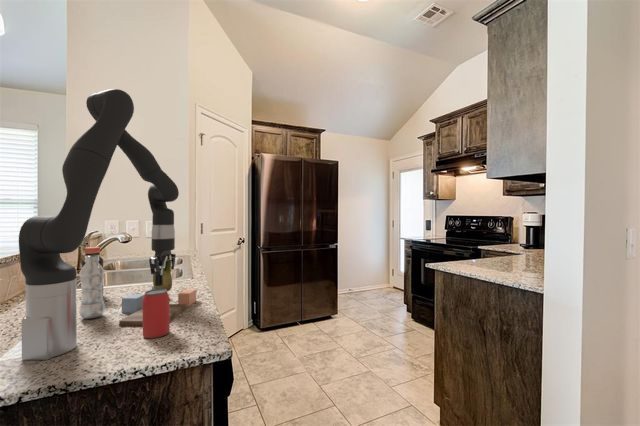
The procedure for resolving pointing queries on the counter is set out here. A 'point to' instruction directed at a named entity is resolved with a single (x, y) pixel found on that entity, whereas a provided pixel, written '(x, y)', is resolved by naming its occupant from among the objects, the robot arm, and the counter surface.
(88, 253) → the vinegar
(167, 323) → the beer can
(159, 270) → the robot arm
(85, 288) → the plastic bottle
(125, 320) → the walnut board
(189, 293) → the terracotta block
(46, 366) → the counter surface
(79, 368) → the counter surface
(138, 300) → the smoky blue cube
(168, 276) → the fennel bulb
